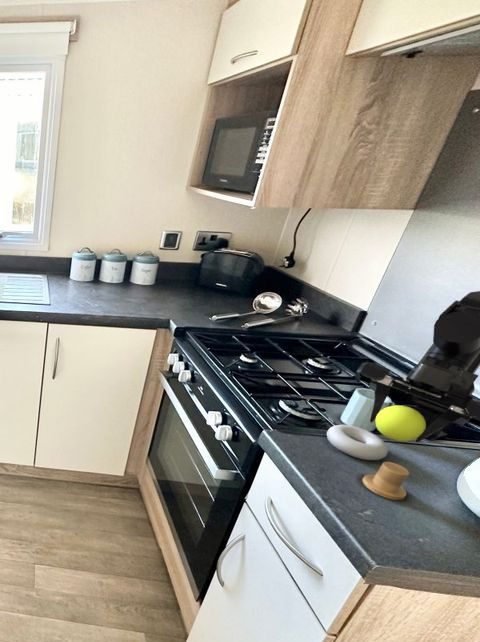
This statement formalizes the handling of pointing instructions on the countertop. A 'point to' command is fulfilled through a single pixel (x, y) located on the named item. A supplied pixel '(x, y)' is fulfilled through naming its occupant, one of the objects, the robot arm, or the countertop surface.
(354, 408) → the cup
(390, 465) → the wooden egg stand
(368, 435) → the donut
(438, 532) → the countertop surface
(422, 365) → the robot arm
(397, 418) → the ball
